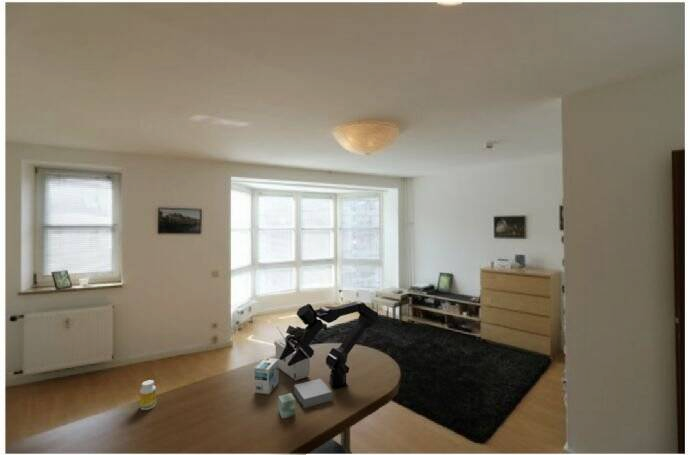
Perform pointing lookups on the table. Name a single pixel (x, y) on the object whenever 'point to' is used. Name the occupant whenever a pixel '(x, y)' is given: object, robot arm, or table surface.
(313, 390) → the grey square block
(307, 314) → the robot arm
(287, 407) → the teal block
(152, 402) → the supplement bottle
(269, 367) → the light bulb box
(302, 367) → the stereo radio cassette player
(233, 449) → the table surface
